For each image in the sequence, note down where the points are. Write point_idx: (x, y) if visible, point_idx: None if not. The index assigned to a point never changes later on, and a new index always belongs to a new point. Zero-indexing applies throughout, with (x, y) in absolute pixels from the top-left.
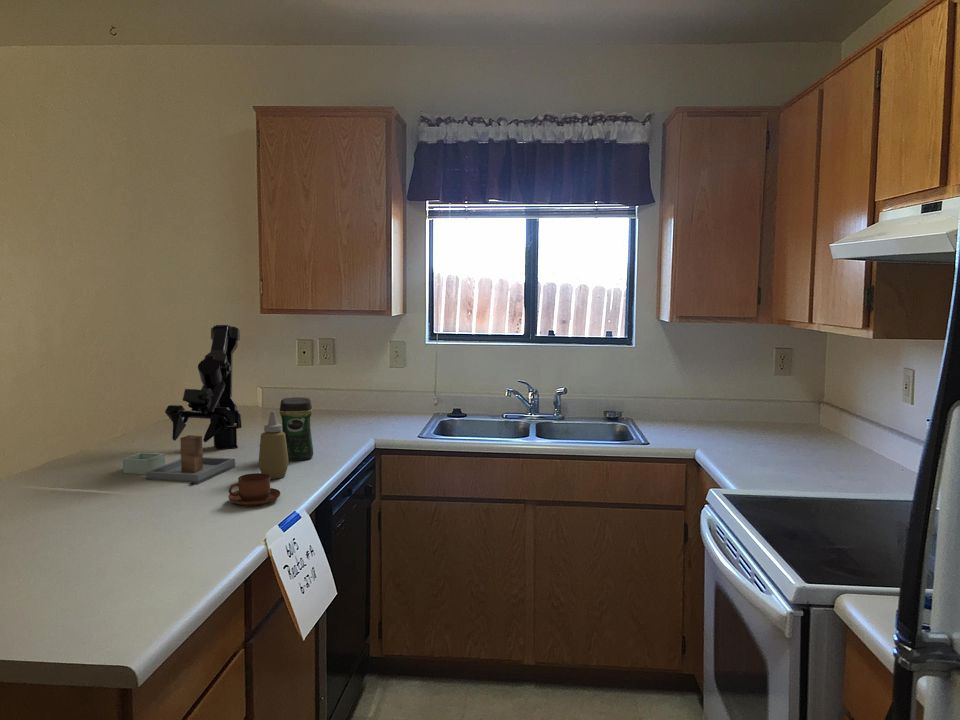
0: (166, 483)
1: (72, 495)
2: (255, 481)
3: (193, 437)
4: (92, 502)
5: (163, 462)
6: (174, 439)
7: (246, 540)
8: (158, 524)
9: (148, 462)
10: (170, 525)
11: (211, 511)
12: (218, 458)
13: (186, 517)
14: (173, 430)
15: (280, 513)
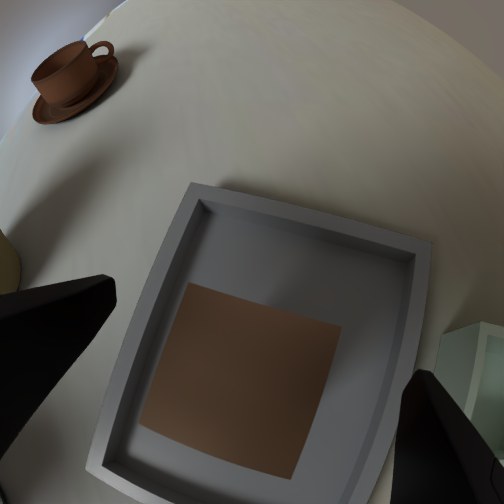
0: None
1: (498, 137)
2: (65, 47)
3: (205, 352)
4: (420, 83)
5: None
6: (410, 382)
7: (124, 10)
8: (230, 11)
9: (472, 328)
10: (211, 11)
11: (154, 46)
12: (157, 500)
13: (193, 27)
14: (469, 427)
15: None
